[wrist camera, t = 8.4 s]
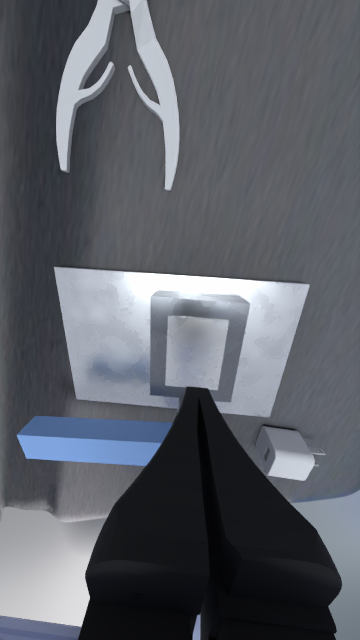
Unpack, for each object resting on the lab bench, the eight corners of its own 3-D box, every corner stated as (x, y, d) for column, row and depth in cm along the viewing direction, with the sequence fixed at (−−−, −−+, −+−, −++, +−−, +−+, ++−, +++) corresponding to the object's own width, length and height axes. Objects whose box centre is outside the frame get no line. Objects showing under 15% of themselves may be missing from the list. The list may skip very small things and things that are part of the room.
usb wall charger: (263, 423, 23) (277, 455, 20) (315, 431, 23) (340, 464, 20) (255, 444, 25) (266, 478, 21) (304, 451, 25) (325, 487, 21)
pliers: (50, 164, 14) (28, -193, 9) (63, 173, 16) (51, -130, 11) (172, 186, 14) (217, -157, 9) (174, 193, 16) (214, -99, 11)
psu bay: (266, 410, 23) (286, 452, 18) (81, 393, 23) (52, 428, 19) (303, 283, 17) (346, 293, 12) (61, 266, 18) (13, 270, 13)
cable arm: (207, 422, 16) (209, 443, 15) (205, 449, 18) (207, 472, 16) (34, 413, 17) (15, 432, 16) (44, 440, 19) (27, 460, 17)
